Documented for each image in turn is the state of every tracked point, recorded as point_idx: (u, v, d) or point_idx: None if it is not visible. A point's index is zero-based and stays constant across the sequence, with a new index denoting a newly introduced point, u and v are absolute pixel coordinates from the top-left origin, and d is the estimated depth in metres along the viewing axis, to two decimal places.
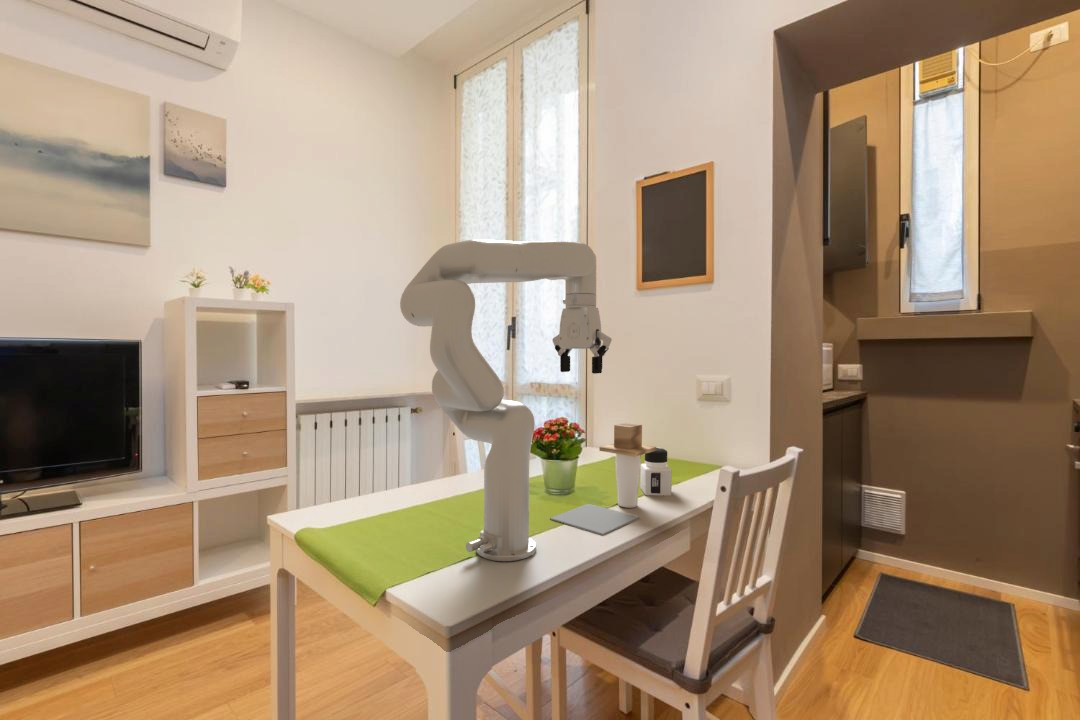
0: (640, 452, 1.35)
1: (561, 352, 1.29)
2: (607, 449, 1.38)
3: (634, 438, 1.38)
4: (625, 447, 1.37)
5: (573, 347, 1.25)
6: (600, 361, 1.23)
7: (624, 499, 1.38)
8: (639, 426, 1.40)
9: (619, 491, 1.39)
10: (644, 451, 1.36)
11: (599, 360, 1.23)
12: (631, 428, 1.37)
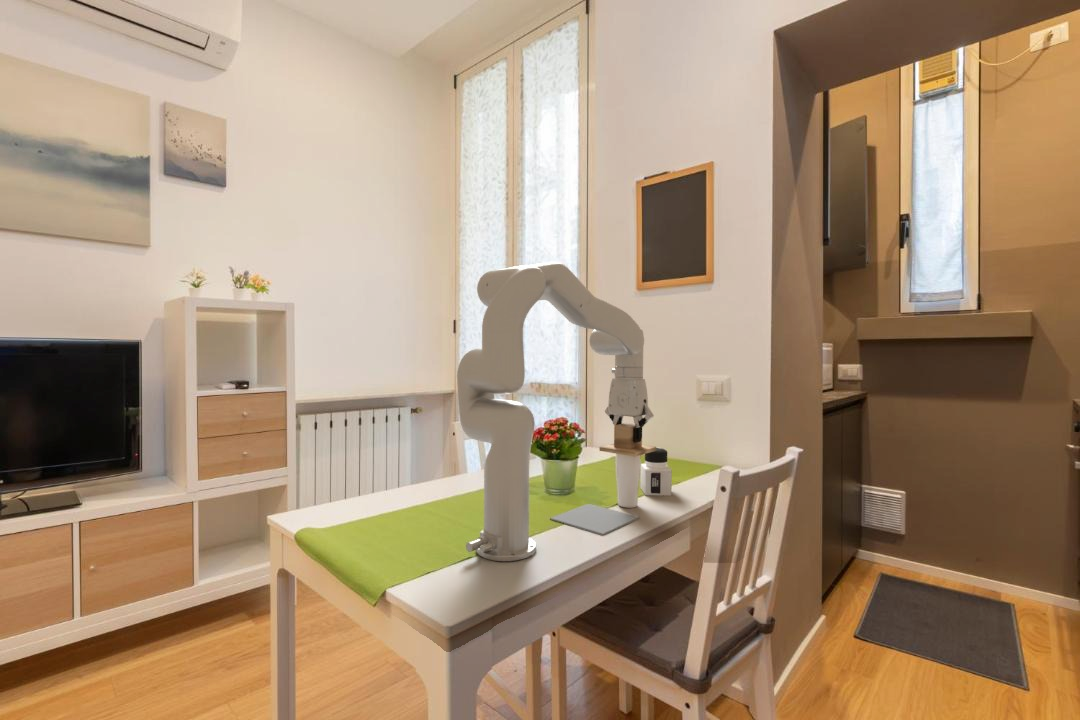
0: (640, 452, 1.35)
1: (615, 421, 1.41)
2: (607, 449, 1.38)
3: None
4: (625, 447, 1.37)
5: (622, 414, 1.38)
6: (640, 431, 1.38)
7: (624, 499, 1.38)
8: None
9: (619, 491, 1.39)
10: (644, 451, 1.36)
11: (640, 430, 1.37)
12: (631, 428, 1.37)
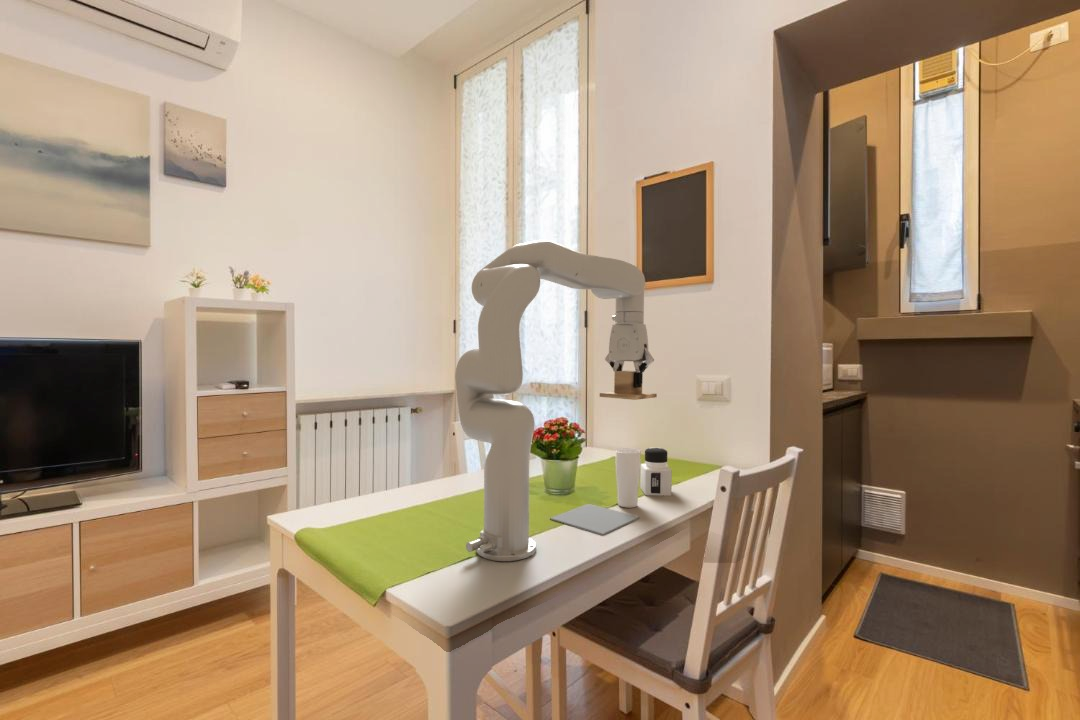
0: (640, 396, 1.34)
1: (616, 367, 1.41)
2: (607, 394, 1.38)
3: None
4: (625, 392, 1.37)
5: (622, 360, 1.38)
6: (641, 376, 1.37)
7: (624, 499, 1.38)
8: None
9: (619, 491, 1.39)
10: (644, 396, 1.36)
11: (640, 375, 1.37)
12: (631, 373, 1.36)
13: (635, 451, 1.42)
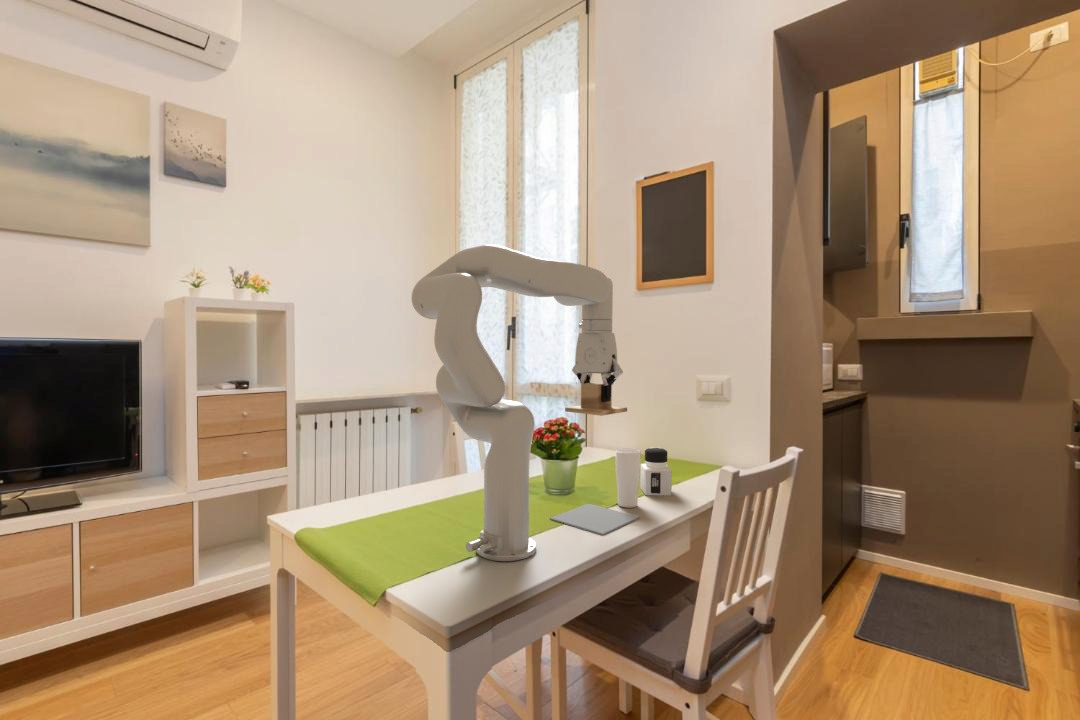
0: (608, 411, 1.23)
1: (583, 380, 1.30)
2: (573, 409, 1.27)
3: None
4: (592, 407, 1.26)
5: (589, 371, 1.27)
6: (609, 390, 1.26)
7: (624, 499, 1.38)
8: None
9: (619, 491, 1.39)
10: (613, 411, 1.25)
11: (608, 389, 1.26)
12: (599, 386, 1.25)
13: (635, 451, 1.42)
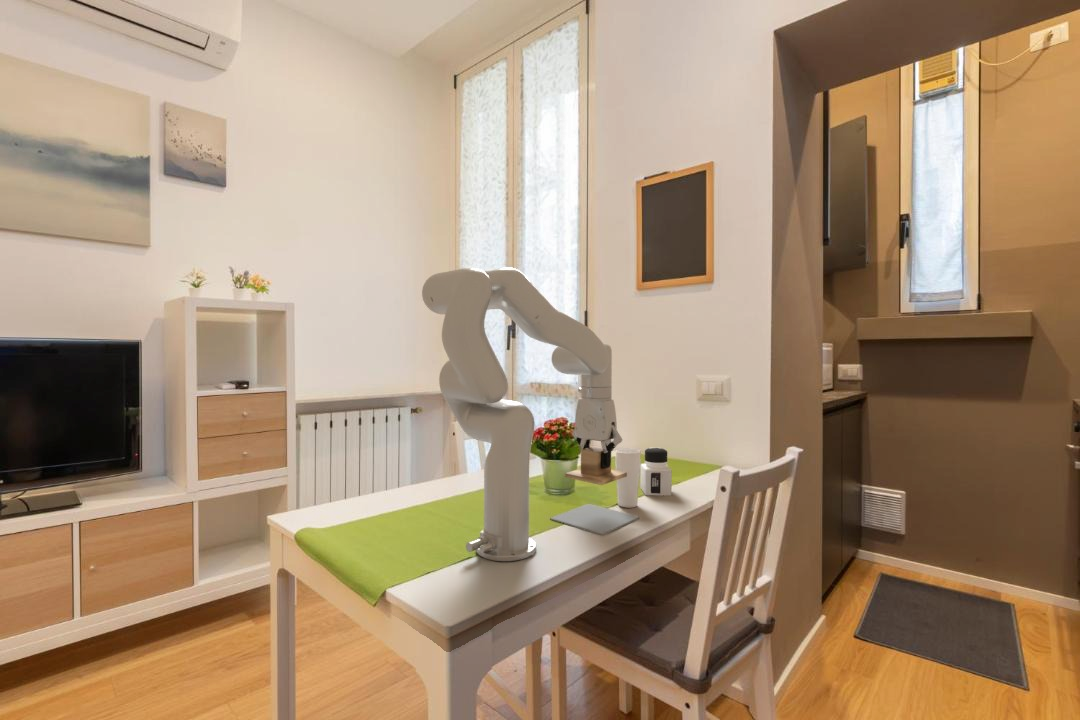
0: (608, 480, 1.24)
1: (582, 445, 1.30)
2: (573, 476, 1.27)
3: None
4: (592, 474, 1.26)
5: (589, 438, 1.27)
6: (609, 456, 1.27)
7: (624, 499, 1.38)
8: None
9: (619, 491, 1.39)
10: (613, 478, 1.25)
11: (608, 456, 1.26)
12: (598, 453, 1.26)
13: (635, 451, 1.42)
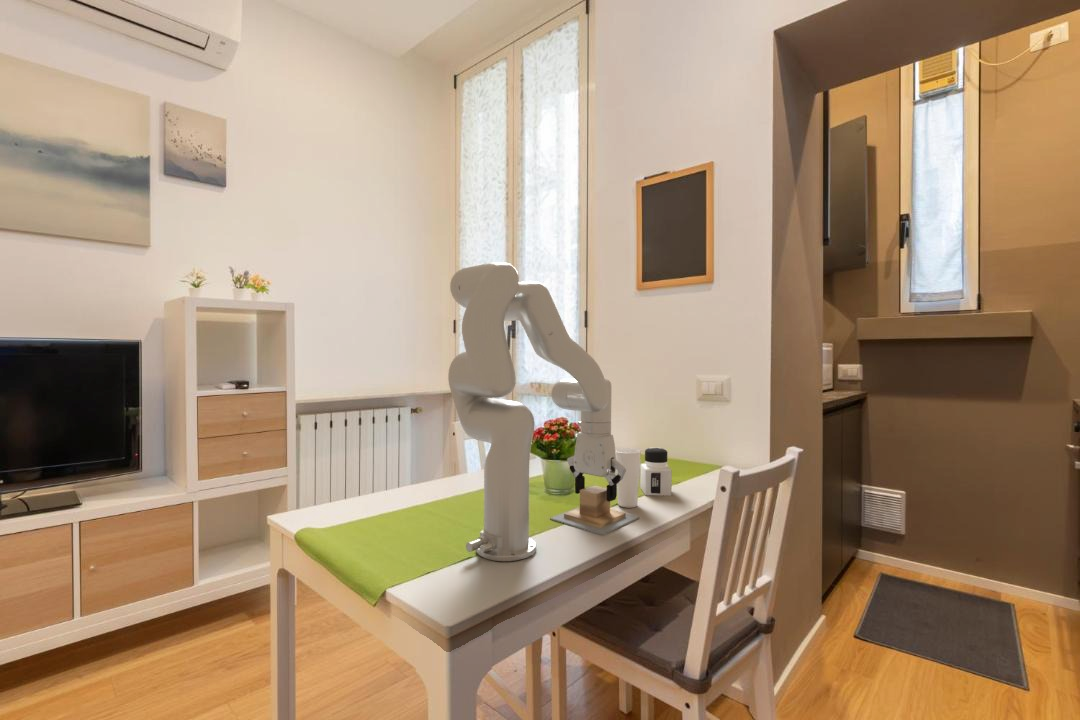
0: (607, 522, 1.24)
1: (576, 474, 1.32)
2: (572, 517, 1.27)
3: (601, 504, 1.27)
4: (591, 515, 1.26)
5: (588, 473, 1.27)
6: (614, 489, 1.25)
7: (624, 499, 1.38)
8: None
9: (619, 491, 1.39)
10: (611, 520, 1.25)
11: (614, 488, 1.25)
12: (597, 495, 1.26)
13: (635, 451, 1.42)
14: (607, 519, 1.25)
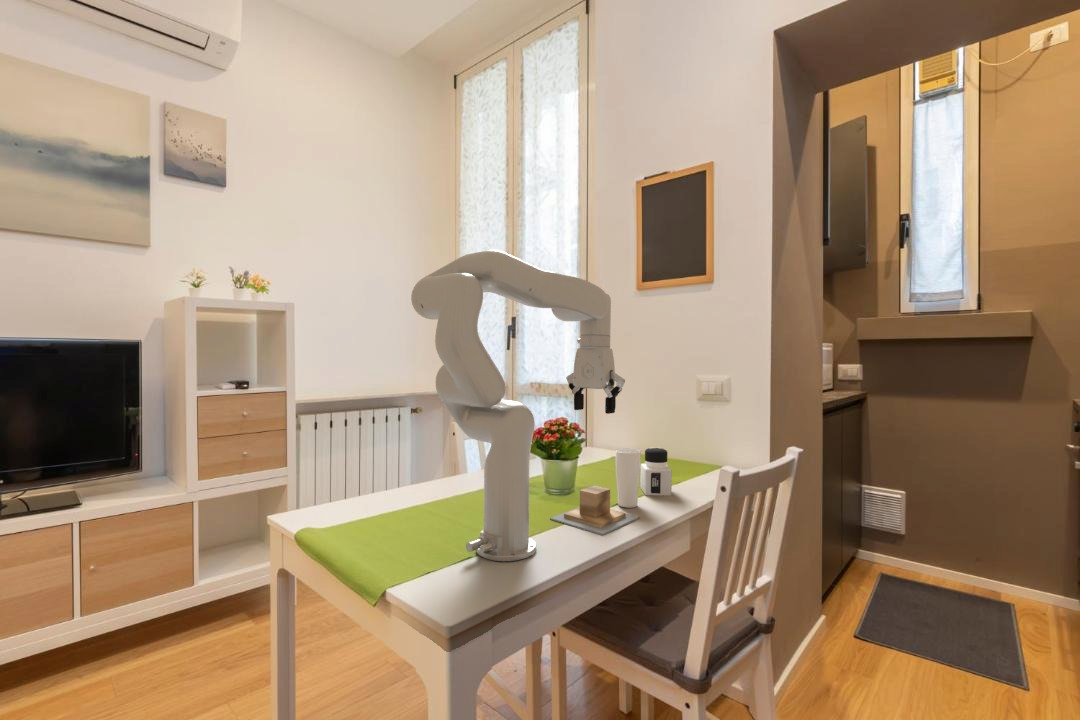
0: (607, 522, 1.24)
1: (575, 390, 1.32)
2: (572, 517, 1.27)
3: (601, 504, 1.27)
4: (591, 515, 1.26)
5: (587, 387, 1.27)
6: (613, 401, 1.25)
7: (624, 499, 1.38)
8: (607, 491, 1.29)
9: (619, 491, 1.39)
10: (611, 520, 1.25)
11: (612, 400, 1.25)
12: (597, 495, 1.26)
13: (635, 451, 1.42)
14: (607, 519, 1.25)
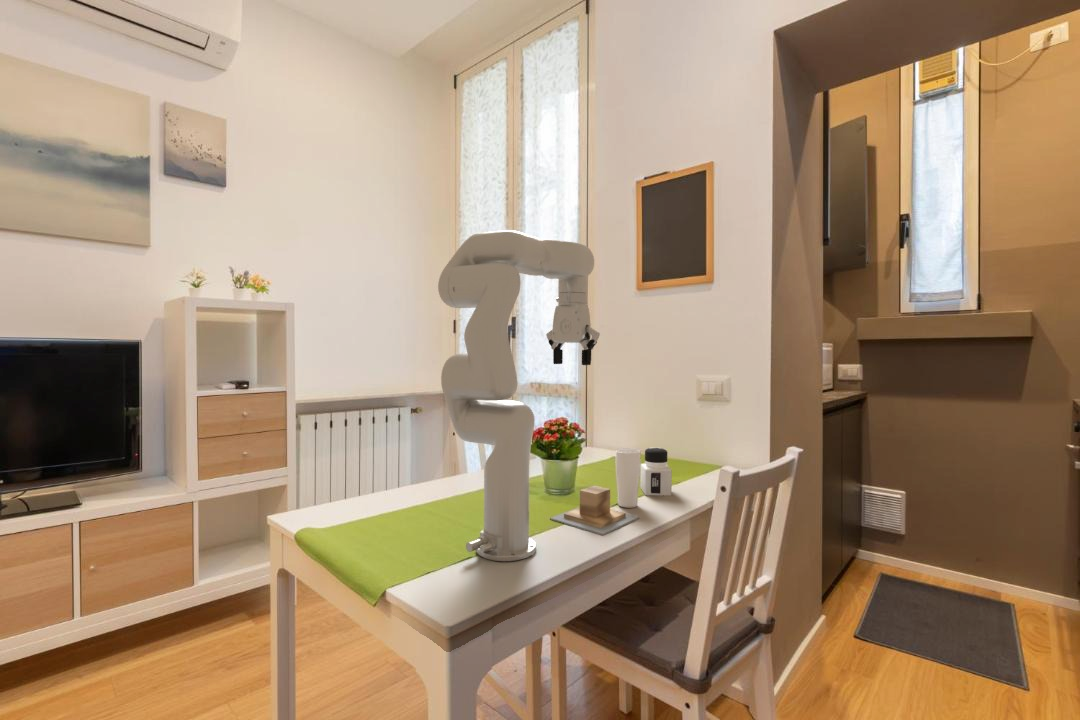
0: (607, 522, 1.24)
1: (554, 346, 1.41)
2: (572, 517, 1.27)
3: (601, 504, 1.27)
4: (591, 515, 1.26)
5: (565, 341, 1.37)
6: (589, 354, 1.35)
7: (624, 499, 1.38)
8: (607, 491, 1.29)
9: (619, 491, 1.39)
10: (611, 520, 1.25)
11: (588, 353, 1.35)
12: (597, 495, 1.26)
13: (635, 451, 1.42)
14: (607, 519, 1.25)
